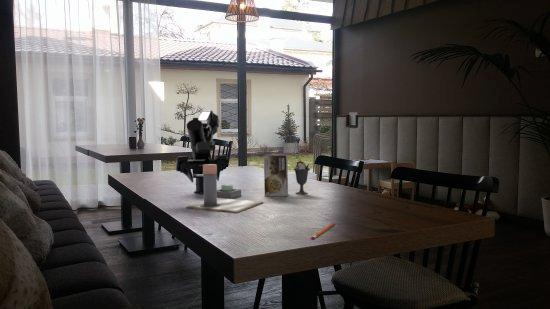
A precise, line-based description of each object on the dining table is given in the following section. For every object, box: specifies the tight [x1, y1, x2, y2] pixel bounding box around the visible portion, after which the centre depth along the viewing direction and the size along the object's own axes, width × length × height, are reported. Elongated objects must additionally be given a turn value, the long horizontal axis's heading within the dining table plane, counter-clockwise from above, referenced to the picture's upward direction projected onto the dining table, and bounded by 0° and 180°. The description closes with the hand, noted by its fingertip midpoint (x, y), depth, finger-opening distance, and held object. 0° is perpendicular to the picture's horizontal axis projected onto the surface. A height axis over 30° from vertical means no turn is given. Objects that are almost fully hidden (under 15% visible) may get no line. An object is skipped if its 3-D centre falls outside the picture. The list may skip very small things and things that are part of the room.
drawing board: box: [185, 198, 264, 214], centre depth 157 cm, size 20×19×1 cm
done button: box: [221, 183, 234, 192], centre depth 175 cm, size 4×4×2 cm
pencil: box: [310, 222, 336, 240], centre depth 121 cm, size 1×19×1 cm, turn 155°
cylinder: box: [203, 164, 218, 207], centre depth 153 cm, size 5×5×14 cm
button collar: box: [217, 188, 242, 199], centre depth 175 cm, size 8×8×2 cm
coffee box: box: [263, 153, 289, 197], centre depth 178 cm, size 9×6×16 cm
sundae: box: [293, 156, 311, 196], centre depth 181 cm, size 7×7×15 cm
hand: (205, 180), depth 161 cm, fingers open, 9 cm apart
